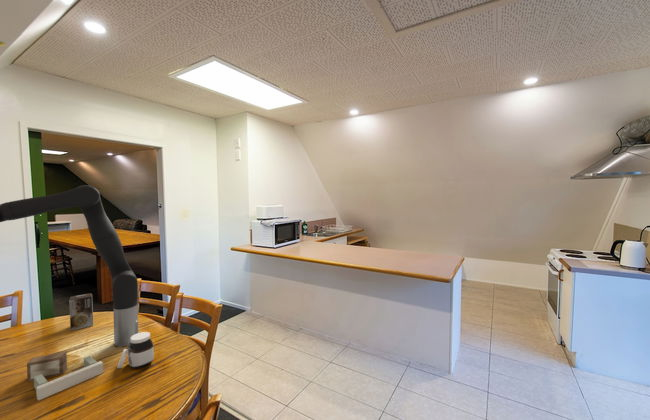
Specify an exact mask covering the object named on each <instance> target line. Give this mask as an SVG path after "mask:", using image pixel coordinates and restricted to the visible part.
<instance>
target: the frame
mask: <svg viewBox="0 0 650 420" xmlns="http://www.w3.org/2000/svg"><path fill="white" fill-rule="evenodd" d="M67 358H68V355H67V351H62V352H57V353H50V354H46V355H42V356H35V357H31V358H30V359H29V360H28V362H27V363H26V372H27V375H26V376H27V380H26V381H27V382H29V383H30V382H34V377H35V376H38V375H40V374H42V375H43V376H44V377H45V379H46V378H51V377H56V376H61V375H64V374H65V372H66V371H67V370H68V362H67V361H68V360H67Z"/></svg>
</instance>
